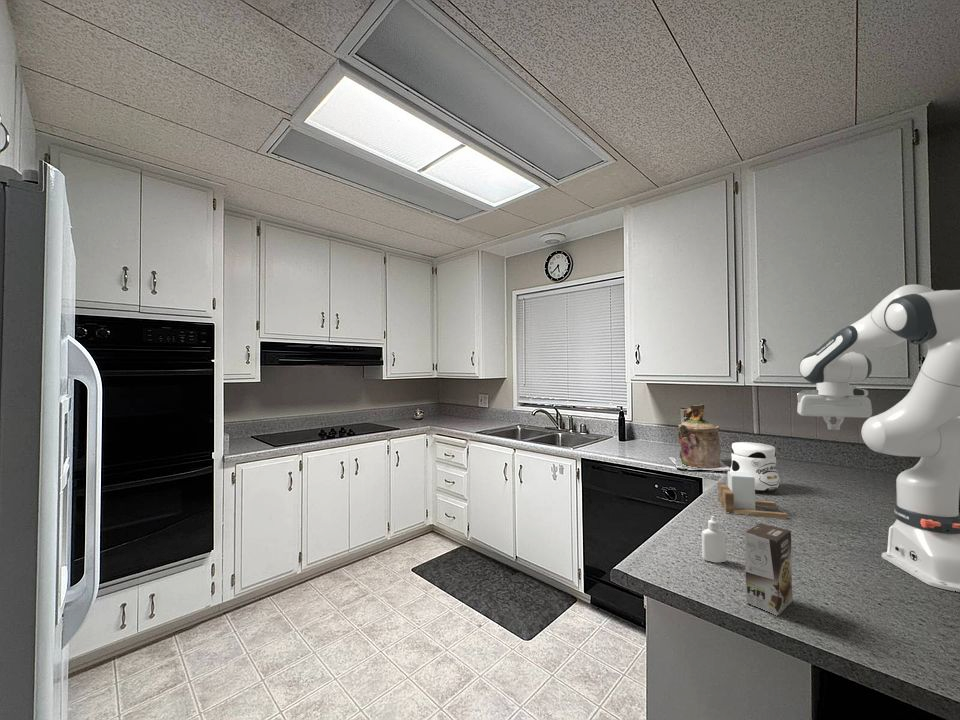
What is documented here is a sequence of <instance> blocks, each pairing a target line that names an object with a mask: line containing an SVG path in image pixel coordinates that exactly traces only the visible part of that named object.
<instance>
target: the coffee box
mask: <svg viewBox="0 0 960 720" xmlns="http://www.w3.org/2000/svg"><path fill="white" fill-rule="evenodd" d="M744 545H745V546H744V547H745V548H744V550H745V551H744V553H745V554H744V555H745V559H744V560H745V561H744V564H745V565H744V566H745V567H744V568H745V569H744V570H745V603H746V602H747V603H750V604H752V605H754V606H756V607H758V608H757V609H759V608H761V609H763V610H765V611H764V612H766V611H768V612H770V613H772V614H771V615H773V614H774V615H773V616H775V615H776V616H775V617H778V616H779V615H780V614H782V612H783V611H785V609H787V606H788V607H789V605H791V604H792V602H793V570H792V569H793V566H792V565H793V564H792V561H793V560H792V531H791V530H789V529H786V528H782V527H779V526H774V525H769V524H765V523H761V522H759V523H758V524H756V525H755V526H753V527H752V528H749V529H747V530H746V531H745V532H744ZM747 603H746V604H747ZM752 605H751V606H752ZM754 606H753V607H754ZM756 607H755V608H756ZM761 609H760V610H761ZM763 610H762V611H763ZM768 612H767V613H768ZM770 613H769V614H770ZM777 615H778V616H777Z"/></svg>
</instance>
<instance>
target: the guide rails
mask: <svg viewBox="0 0 960 720" xmlns="http://www.w3.org/2000/svg"><path fill="white" fill-rule="evenodd" d="M755 505H758V506H757V507H764V506H768V507H767V508H777V503H776V501H767V500H766V501H765V500H756V499H755ZM728 510H729V511H728ZM728 510H727V512H731V513H738V514H737V515H739V514H748V515H747V516H750V515H754V516H753V517H760V516H764V518H772V519H780V520H781V519H783V520H788V518H789V517H788V516H789V515H788V514H787V512H779V511H778V512H777V511H767V510H766V511H765V510H757V509H755V510H746V509H735V508H734V510H730V509H728Z"/></svg>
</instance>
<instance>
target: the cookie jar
mask: <svg viewBox="0 0 960 720" xmlns="http://www.w3.org/2000/svg"><path fill="white" fill-rule="evenodd" d="M704 409H705V405H704V404H703V403H701V404H699V405H697V404H692V405H690V406H689V408H688V407H687V408H684V409H683V413H684V414H683V415H684V416H686V418H685V421H683V422H682V423H680V424H678V427H677V429H678V433H677V436H678V441H679V444H680V448H681V449H680V451H679V459H681V462H682V464H684V465H686V466H691V467H697V468H706V469H703V470H716V471H730V469H731V466H728V465H726V464H724V462H723V461H722V460H721V453H722V451H721V444H720V438H719V431H720V426H719V425H716V424H712V423H710V422H709V421H707V420H705V419H703V418H704ZM668 459H669V460H670V461H671V463H672V462H673V463H674V464H676V462H675V461H676V459H675V457H670V456H669V457H668ZM673 463H672V464H673ZM674 464H673V465H674ZM676 467H677V468H678V469H681V470H685V469H691V468H687V467H682V466H677V465H676ZM676 467H675V468H676ZM677 468H676V469H677Z"/></svg>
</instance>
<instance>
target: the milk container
mask: <svg viewBox="0 0 960 720" xmlns="http://www.w3.org/2000/svg"><path fill="white" fill-rule="evenodd" d="M776 451H777V450H776V447H775V446H773V445H771V444H766V443H761V442H751V441H740V442H733V443H731V466H730V468H731V469H730V471H733V472H748V473H750V474H751V475H752V476H753V477H754V478H755V493H756V492H757V493H769V492H775V491H777V490H778V488H779V486H780V477H779V473H778V470H777V453H776Z"/></svg>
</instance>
